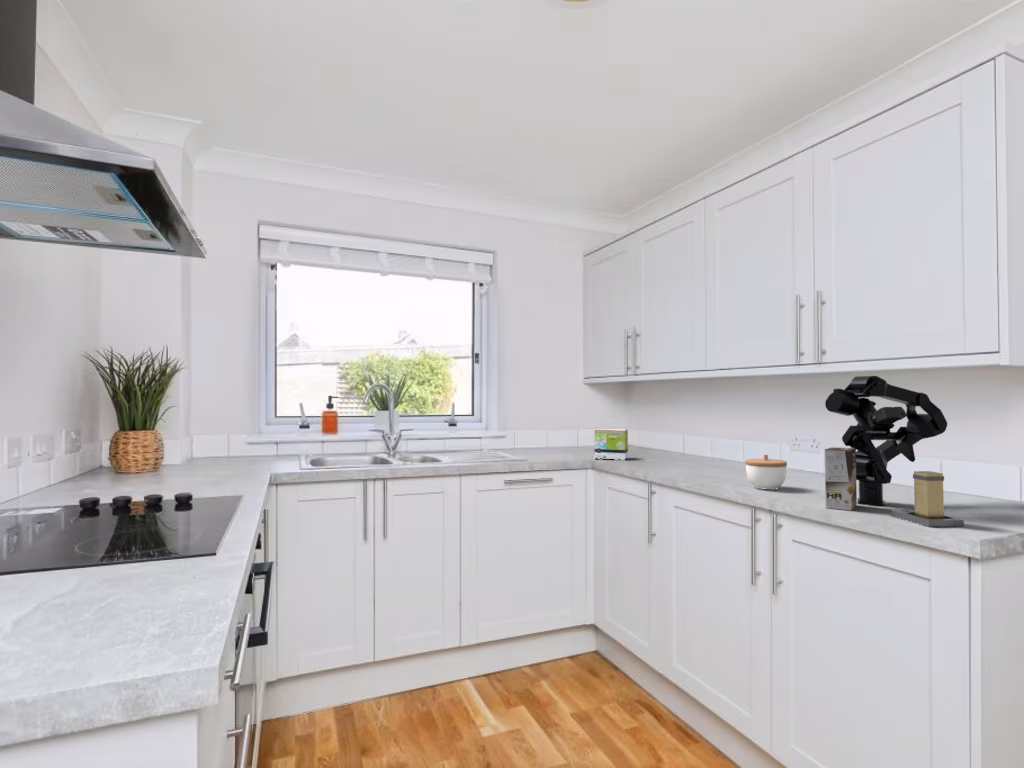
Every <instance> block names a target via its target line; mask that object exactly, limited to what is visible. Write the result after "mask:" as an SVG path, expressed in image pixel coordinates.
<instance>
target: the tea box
mask: <svg viewBox="0 0 1024 768" xmlns="http://www.w3.org/2000/svg"><path fill="white" fill-rule="evenodd" d="M628 433H629V430H628V429H627V428H597V429H596V428H595V429H594V449H593V450H594V451H593V453H594V458H595V457H601V458H611V459H626V458H627V459H628V453H629V452H628V451H629V450H628V449H629V447H628V445H629V440H628V439H629V434H628ZM627 459H626V460H627Z"/></svg>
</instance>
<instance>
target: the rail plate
mask: <svg viewBox="0 0 1024 768" xmlns="http://www.w3.org/2000/svg"><path fill="white" fill-rule="evenodd" d="M890 516H891V517H894V518H896V517H897V518H896V519H899V518H901V519H900V520H903V519H904V521H906V520H908V521H907V522H910V521H912V522H911V523H913V522H915V523H914V524H916V523H919V524H918V525H920V524H922V525H921V526H923V525H925V527H927V526H928V528H951V527H953V526H965V525H964V524H965V522H964V521H965V520H964V519H961V518H957V517H954V516H949V515H945V514H944V519H924V518H921V517H917V516H915V509H891V511H890ZM938 526H939V527H938ZM940 526H941V527H940Z"/></svg>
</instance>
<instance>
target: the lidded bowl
mask: <svg viewBox="0 0 1024 768" xmlns="http://www.w3.org/2000/svg"><path fill="white" fill-rule="evenodd" d="M744 463H745V471H746V472H745V474H746V477H747V479H748V481H749V483H750V484H751V485H752V486H753V487H757V488H766V489H776V488H778V489H779V488H780V487H781V486H782V485H783V484H784V482H785V481H786V478H787V469H788V468H787V467H788V462H787V461H786V460H782V459H775V458H769V456H768V454H763V458H747V459H745V461H744Z"/></svg>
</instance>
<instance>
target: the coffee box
mask: <svg viewBox="0 0 1024 768" xmlns="http://www.w3.org/2000/svg"><path fill="white" fill-rule="evenodd" d="M856 452H857V449H855V448H851V447H835V446H834V447H828V448H825V449H824V470H825V471H824V474H825V475H824V476H825V477H824V479H825V480H824V481H825V482H824V483H825V488H824V489H825V490H824V491H825V494H824V495H825V508H826V509H835V510H842V511H852V510H853V509H855V508H856V507H857V504H858V497H857V494H858V493H857V480H856ZM855 506H856V507H855Z"/></svg>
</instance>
